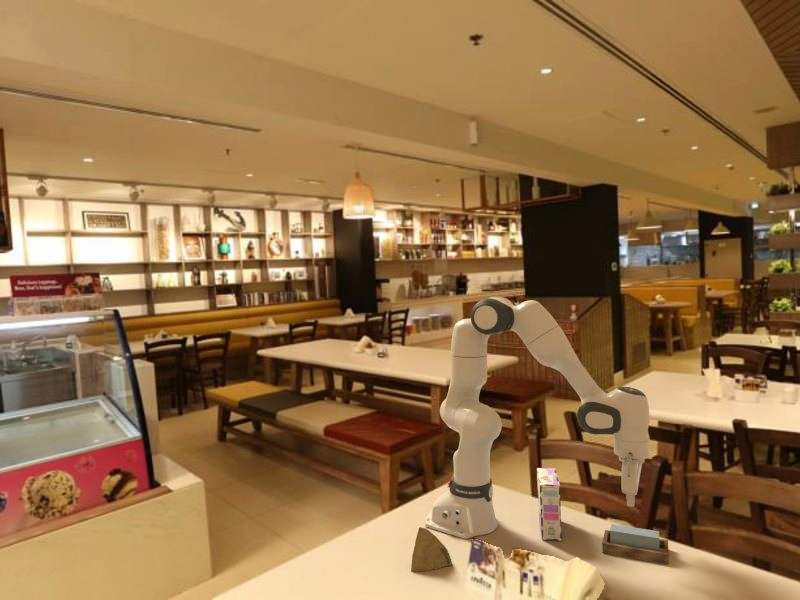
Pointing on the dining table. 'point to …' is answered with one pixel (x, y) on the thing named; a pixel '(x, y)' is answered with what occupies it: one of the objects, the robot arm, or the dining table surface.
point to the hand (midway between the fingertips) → (632, 498)
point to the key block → (635, 537)
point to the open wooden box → (636, 550)
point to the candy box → (549, 504)
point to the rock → (429, 552)
